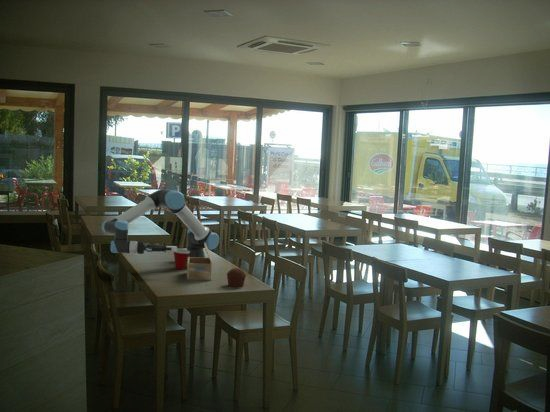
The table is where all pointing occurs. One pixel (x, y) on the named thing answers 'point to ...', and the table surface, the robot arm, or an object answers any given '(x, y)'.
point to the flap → (208, 252)
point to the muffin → (236, 277)
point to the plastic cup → (181, 258)
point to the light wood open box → (199, 268)
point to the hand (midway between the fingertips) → (177, 248)
